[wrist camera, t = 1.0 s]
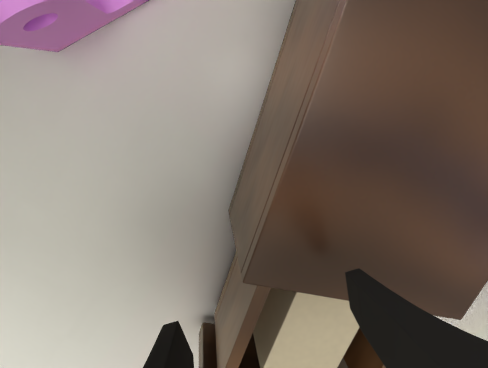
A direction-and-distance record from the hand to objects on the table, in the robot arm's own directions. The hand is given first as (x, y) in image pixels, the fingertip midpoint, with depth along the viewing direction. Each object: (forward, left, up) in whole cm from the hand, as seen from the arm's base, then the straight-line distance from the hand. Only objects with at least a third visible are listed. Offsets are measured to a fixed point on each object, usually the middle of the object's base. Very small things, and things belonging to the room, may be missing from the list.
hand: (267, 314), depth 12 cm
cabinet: (-6, -7, -10) cm, 14 cm away
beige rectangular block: (-6, +5, -8) cm, 11 cm away
